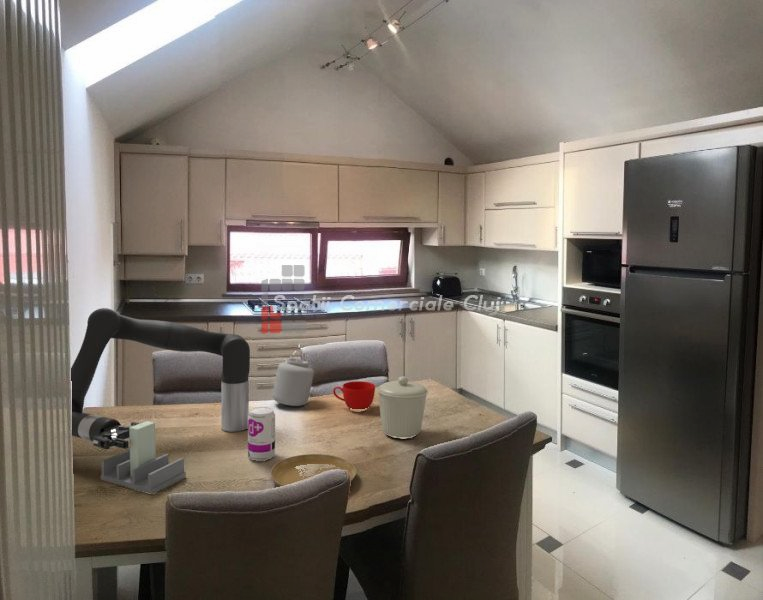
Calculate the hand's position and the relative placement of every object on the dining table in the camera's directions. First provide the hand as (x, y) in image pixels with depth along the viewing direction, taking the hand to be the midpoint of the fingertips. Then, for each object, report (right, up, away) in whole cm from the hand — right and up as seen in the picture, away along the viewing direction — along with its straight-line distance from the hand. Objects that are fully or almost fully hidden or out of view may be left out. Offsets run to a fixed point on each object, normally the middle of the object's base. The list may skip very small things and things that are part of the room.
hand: (140, 439), depth 150 cm
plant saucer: (+48, -13, +3) cm, 50 cm away
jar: (+32, -4, +71) cm, 78 cm away
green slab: (0, -10, +1) cm, 10 cm away
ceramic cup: (+56, -5, +66) cm, 87 cm away
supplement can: (+30, -10, +18) cm, 36 cm away
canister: (+74, -9, +41) cm, 85 cm away
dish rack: (0, -11, +1) cm, 11 cm away
